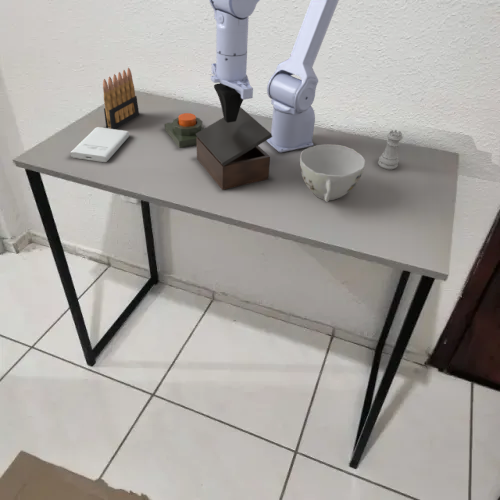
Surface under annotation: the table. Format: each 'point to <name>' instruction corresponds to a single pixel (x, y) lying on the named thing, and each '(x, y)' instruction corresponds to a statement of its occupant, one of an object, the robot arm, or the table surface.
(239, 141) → the lid
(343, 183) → the teacup
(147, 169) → the table surface
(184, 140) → the control block
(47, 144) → the table surface
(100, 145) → the hard drive
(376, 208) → the table surface
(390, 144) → the rook chess piece
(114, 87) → the ammunition clip
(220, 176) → the wooden lidded box
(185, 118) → the button
